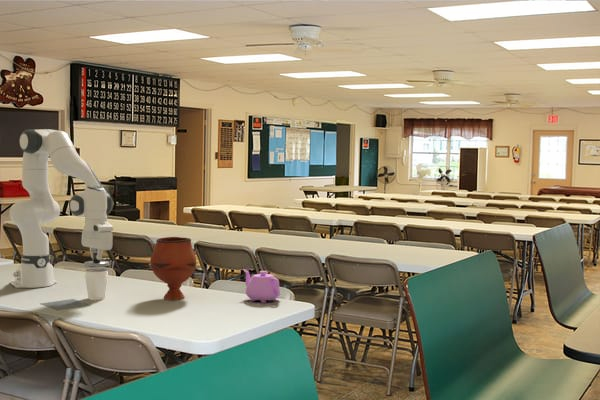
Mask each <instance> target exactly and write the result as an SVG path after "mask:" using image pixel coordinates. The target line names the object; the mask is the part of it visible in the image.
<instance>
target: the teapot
mask: <svg viewBox="0 0 600 400" xmlns="http://www.w3.org/2000/svg"><path fill="white" fill-rule="evenodd" d="M242 271H244V273H245V286H246V288H245V295H246V296H247V297H248V298H249V299H250V301H251V302H255V301H260V303H261V304H266V303H267V301H272V302H275V301H276V299H278V297H280V296H281V288H280V280H279V278H277V277H275V276H274V275H273V274H271V273H267V271H266V270H260V271H259V273H257V274H253V275H252V276H251V274H250V272H249V271H248V270H247V269H242Z"/></svg>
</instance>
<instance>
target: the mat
mask: <svg viewBox="0 0 600 400" xmlns="http://www.w3.org/2000/svg"><path fill="white" fill-rule="evenodd" d="M39 305H41V306H45V307H48V308H50V309H53V310H55V311H61V310H69V309H74V308H75V309H77V308H81V307H82V308H84V307H89V306H91V304H90V303H86V302H83V301H81V300H80V301H79V300H77V299H74V298H70V299H63V300H56V301H50V302H49V301H48V302H42V303H39Z"/></svg>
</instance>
